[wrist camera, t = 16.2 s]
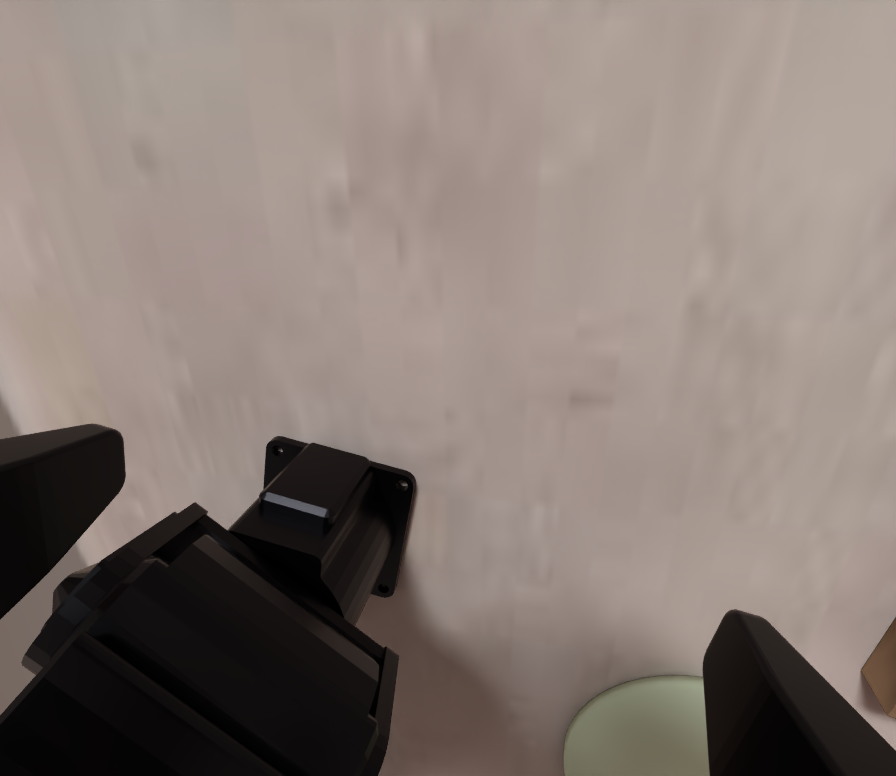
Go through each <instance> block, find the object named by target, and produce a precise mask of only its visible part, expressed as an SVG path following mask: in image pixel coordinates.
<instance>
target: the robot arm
mask: <svg viewBox="0 0 896 776" xmlns="http://www.w3.org/2000/svg"><path fill="white" fill-rule="evenodd" d="M276 445H278V446H280V447H281V448H282V450H283V452H280V451H278V449H277V448H276ZM125 477H126V472H125V457H124V441H123V437H122V435H121V433H120V432H119V431H117V430H116V429H112V428H109V427H105V426H102V425H98V424H86V425H80V426H74V427H69V428H63V429H57V430H51V431H45V432H40V433H34V434H28V435H22V436H16V437H11V438H5V439H0V619H1V618H2V617H3V616H4V615H5V614H6V613H7V612H9V611H10V610H11V608H13V607H14V606H15V605H16V604H17V603H18V602H19V601H20V600H21V599H22V598H23V597H24V596H25V595H26V594H27V593H28V592H29V591H30V590H31V589H32V588H34V587H35V586H36V584H38V583H39V582H40V581H41V579H43V578H44V576H46V575H47V574H48V573H49V572H50V570H51V569H52V568H53V567H54V566H55V565H56V564H57V563H58V562H59V561H60V560H61V558H62V557H63V556H64V555H65V554H66V553H67V552H68V550H69V549H70V548H71V547H72V546H73V545H74V544H75V542H76V541H77V540H78V539H79V538H80V537H81V536H82V534H83V533H84V532H85V531H86V530H87V529H88V528H89V526H90V525H91V524H92V523H93V522H94V521H95V520H96V518H97V517H98V516H99V515H100V514H101V513H102V512H103V510H104V509H105V508H106V507H107V506H108V505H109V503H110V502H111V501H112V500H113V499H114V498H115V497H116V495H117V494H118V493H119V492H120V490H121V489H122V487H123V484H124V482H125ZM399 480H403V481H405V482H406V483H407V484H408V486H402V485H401V484H400V483H399ZM415 486H416V479H415V477H414V476H413V475H412V474H411V473H410V472H408V471H405V470H402V469H398V468H395V467H391V466H387V465H384V464H380V463H376V462H373V461H369V460H368V459H367V458H366V457H363V456H359V455H356V454H352V453H348V452H345V451H341V450H338V449H334V448H330V447H327V446H323V445H319V444H316V443H311V444H308V443H304V442H300V441H297V440H293V439H289V438H286V437H282V436H277V437H274V438H273V439H272V440H271V441H270V442H269V443H268V444H267V447H266V459H265V474H264V489H263V491H262V492H261V493H260V495H259V498H258V499H257V500H256V501H255V502H254V503H253V504H252V505H251V506H250V507H249V508H248V509H247V510H246V511H245V512H244V513H243V515H242V516H241V517H240V518H239V519H238V520H237V521H236V522H235V523H234V524H233V525H232V526H231V527H230V528H229V529H228V530H226V529H225V528H223V527H222V526H221V525H220V524H218V523H217V522H216V521H214V520H213V519H212V518H210V517H209V516H208V515H207V513H208V511H206V510H205V509H204V508H202V507H201V506H200V505H198V504H197V503H196V502H195V503H193V504H192V505H190V506H189V507H187V508H186V509H184V510H183V511H181V512H180V513H178V514H177V513H176V512H174V513H172V514H171V515H169V516H168V517H166V518H165V519H163V520H161V521H160V522H158V523H157V524H155V525H154V526H152V527H151V528H149V529H148V530H146V531H145V532H143V533H142V534H140V535H139V536H137V537H136V538H134V539H133V540H131V541H130V542H128V543H127V544H125V545H124V546H122V547H121V548H119V549H118V550H116V551H115V552H113V553H112V554H110V555H109V556H107V557H106V558H104V559H103V560H101V561H100V562H99V563H97V564H94V565H92V566H89V567H87V568H84V569H82V570H79V571H77V572H74V573H72V574H70V575H69V576H68V577H67V578H65V579H64V580H63V581H62V582H61V583H60V584H59V585H58V586H57V588H56V589H55V590H54V592H53V608H52V615H51V617H50V618H49V619H48V620H47V622H46V623H45V625H44V626H43V628H42V630H41V633H40V634H39V635H38V637H37V638H36V639H35V640H34V642H33V643H32V644H31V646H30V647H29V649H28V651H27V652H26V654H25V655H24V657H23V660H22V662H21V663H22V665H23V666H24V667H25V668H27V669H28V670H29V671H31V672H32V673H34V674H35V675H36V676H35V677H34V678H33V679H32V681H31V682H30V683H29V684H28V685H27V686H26V687H25V688H24V689H23V691H22V692H21V693H20V694H19V695H18V696H17V697H16V698H15V700H14V701H13V702H12V703H11V704H10V705H9V706H8V707H7V709H6V710H5V711H4V712H3V713H2V714H1V715H0V776H378V774H379V772H380V769H381V766H382V763H383V760H384V757H385V754H386V750H387V745H388V740H389V732H390V724H391V716H392V708H393V700H394V692H395V684H396V676H397V668H398V660H399V655H397V654H396V653H395V652H393V651H392V650H391V649H389V648H388V647H385V648H383V647H381V646H380V645H379V644H377V643H376V642H375V641H373V640H372V639H371V638H369V637H368V636H367V635H365V634H364V633H363V632H362V631H360V630H359V629H358V628H356V627H355V625H356V623H357V621H358V618H359V616H360V614H361V612H362V610H363V608H364V606H365V604H366V602H367V600H368V598H369V596H370V594H374V595H377V596H380V597H385V598H386V597H390V596H392V595H393V593H394V591H395V588H396V586H397V580H398V575H399V570H400V565H401V560H402V554H403V549H404V544H405V539H406V533H407V528H408V523H409V518H410V513H411V507H412V502H413V497H414V492H415ZM382 584H385V585H387V586H388V587H384V586H382ZM703 684H704V699H705V715H706V730H707V746H708V761H709V774H710V776H896V751H895V750H894V749H893V748H892V747H891V746H890V745H889V744H888V743H887V741H886V740H885V739H884V738H883V737H882V736H881V735H880V734H879V733H878V732H877V731H876V730H875V729H874V728H873V727H872V726H871V725H870V724H869V723H868V722H867V721H866V720H865V719H864V718H863V717H862V716H861V715H860V714H859V713H858V712H857V711H856V710H855V709H854V708H853V707H852V706H851V705H850V704H849V703H848V702H847V701H846V700H845V699H844V698H843V697H842V696H841V695H840V694H839V693H838V692H837V691H836V690H835V689H834V688H833V687H832V686H831V685H830V684H829V683H828V682H827V681H826V680H825V679H824V678H823V677H822V676H821V675H820V674H819V673H818V672H817V671H816V670H815V669H814V668H813V667H812V666H811V665H810V664H809V663H808V662H807V661H806V660H805V659H804V658H803V656H802V655H801V654H800V653H799V652H798V651H797V650H796V649H795V648H794V647H793V646H792V645H791V644H790V643H789V642H788V641H787V640H786V639H785V638H784V637H783V636H782V635H781V634H780V633H779V632H778V631H777V630H776V629H775V628H774V627H773V626H772V625H771V624H770V623H769V622H768V621H767V620H766V619H764V618H762V617H760V616H757V615H753V614H750V613H746V612H743V611H740V610H736V609H734V610H730V611H728V612H727V613H726V614H725V616H724V617H723V619H722V621H721V623H720V625H719V627H718V629H717V631H716V633H715V635H714V636H713V638H712V640H711V642H710V644H709V646H708V648H707V650H706V653H705V656H704V660H703Z"/></svg>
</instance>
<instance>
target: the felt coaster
mask: <svg viewBox="0 0 896 776" xmlns="http://www.w3.org/2000/svg"><path fill="white" fill-rule="evenodd" d="M564 773H565V776H710V774H709V761H708V746H707V730H706V715H705V699H704V684H703V677H698V676H683V675H670V676H655V677H648V678H642V679H638V680H634V681H629V682H626V683H623V684H621V685H618V686H615V687H613V688H611V689H609V690H607V691H605V692H603V693H601V694H599V695H598V696H596V697H595V698H593V699H592V700H590V701H589V702H588V703H587V704H586V705H585V706H584V707H583V708H582V709H581V710H580V711H579V712H578V713H577V715H576V716H575V717H574V719H573V720H572V722H571V724H570V726H569V728H568V730H567V734H566V737H565V742H564Z"/></svg>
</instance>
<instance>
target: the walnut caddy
mask: <svg viewBox="0 0 896 776" xmlns="http://www.w3.org/2000/svg"><path fill="white" fill-rule="evenodd" d="M861 671H862V673H863V675H864V676H865V678H866V680H867V681H868V683H869V685H870V687H871V688H872V690H873V692H874V693H875V695H876V697H877V699H878V700H879V702H880V704H881V705H882V707H883V709H884V711H885V712H886V714H887V716H890V717H893V718H896V619H895V620H894V622H893V623H892V625H891V626H890V628H889V629H888V631H887V632H886V634H885V635H884V637H883V638H882V640H881V641H880V643H879V644H878V646H877V647H876V649H875V650H874V652H873V653H872V655H871V656H870V658H869V659H868V661H867V662H866V664H865V665H864V667H863V668H862V670H861Z"/></svg>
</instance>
